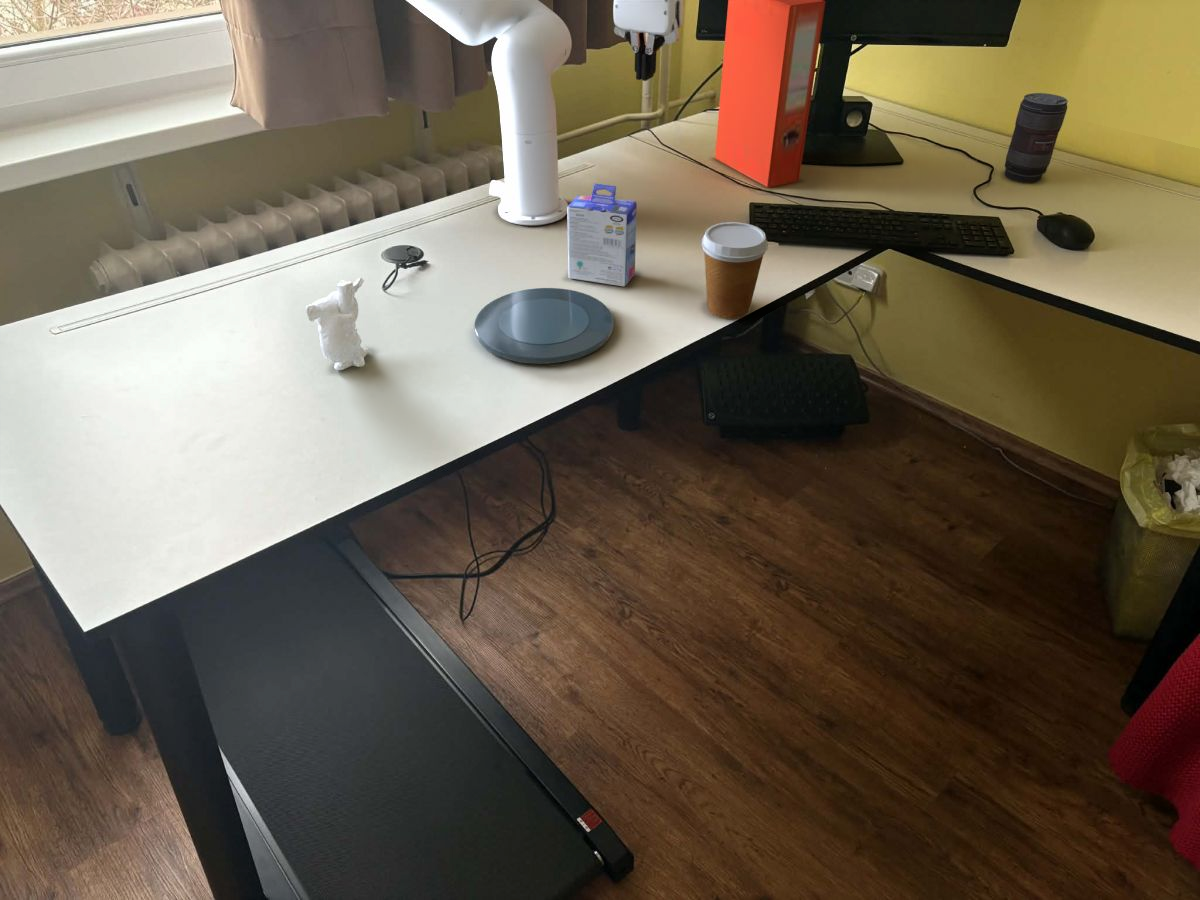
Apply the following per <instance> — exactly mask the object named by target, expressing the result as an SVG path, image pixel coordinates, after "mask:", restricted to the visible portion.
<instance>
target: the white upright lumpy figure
mask: <svg viewBox="0 0 1200 900" xmlns="http://www.w3.org/2000/svg"><path fill="white" fill-rule="evenodd" d="M364 281H365V279H363V278H362V277H359V278H358V279H356V281H355V282H352V281H350V280H339V282H338V283H337V291H335V290H333V291H332V292H330V293H329V295H328V296H327V297H324V298H321V299H318V300H316V301H314V302H313V303H312V304H311V303H309V304H306V307H305V313H306V316H307V317H306V318H307V319H308V320H309V321H310V322H311V323H313V322H315V323H317V324H318V326H317V330H318V336H319V345H320V349H321V352H322V354H323V357H324V358H326V360H327V361H329V362H330V363H333V364H334V369H335V371H342V370H345V369H348V368H349V367H351V366H353V367H358V368H362V367H364V366H365V364H366V361H365V357H366V356H367V355H368V354H370V349H369V348H367V347H362V338H361V335H360V334H359V333H358V328H357V327H356V326H357V324H356V321H357V320H358V317H359V303H358V301H357V299H356V298H357V297H355V294H356V293H357V292H358V290H359V289H360V288H362V286H363V284H364Z"/></svg>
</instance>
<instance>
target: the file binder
mask: <svg viewBox="0 0 1200 900" xmlns="http://www.w3.org/2000/svg"><path fill="white" fill-rule="evenodd" d="M825 7H826V1H825V0H728V3H727V13H726V25H725V36H724V46H723V47H724V49H723V59H722V70H721V71H722V72H721V82H720V92H719V94H720V95H719V103H718V117H717V128H716V140H715V141H716V142H715V151H714V152H715V153H714V159H715V160H717V161H719V162H720V163H723V164H724V165H726V166H728V167H730V168H732V169H733V170H735V171H737V172H739V173H741V174H743V175H745V176H746V177H748V178H750V179H752V180H754V181H755V182H757V183H759V184H760V185H762V186H764V187H766V188H770V189H771V188H775V187H778V186H782V185H787V184H791V183H796V182H799V180H800V176H801V168H802V163H803V156H804V150H805V143H806V135H807V130H808V121H809V116H810V108H811V101H812V94H813V89H814V81H815V74H816V67H817V61H818V54H819V47H820V40H821V34H822V27H823V20H824V13H825Z"/></svg>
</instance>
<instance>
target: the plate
mask: <svg viewBox="0 0 1200 900" xmlns="http://www.w3.org/2000/svg"><path fill="white" fill-rule="evenodd" d="M613 329H614V318H613V314H612V312H611V310H610V309H609V308H608V307H607V305H606V304H604V303H603V301H601V300H599V299H598V298H596V297H594V296H591V295H589V294H586V293H584V292H580V291H577V290H573V289H567V288H560V287H558V288H557V287H538V288H536V287H535V288H528V289H523V290H517V291H514V292H510V293H508V294H505V295H501V296H499V297H498V298H496V299H494V300H492V301H490V302H489V303H487V304H486V305H484V307H483V308H481V310H480V311H479V312H478V314H477V315H476V318H475V321H474V333H475V336H476V339H477V340H478V342H479V344H480V345H481V346H482V347H483V348H484V349H486V350H487V351H488V352H490V353H492V354H493V355H496V356H497V357H500V358H503V359H506V360H508V361H512V362H518V363H523V364H524V363H525V364H537V365H538V364H542V365H543V364H544V365H545V364H556V363H563V362H569V361H573V360H576V359H579V358H583V357H584V356H587V355H590V354H591V353H594V352H595V351H597V350H598V349H599V348H601V347H603V345H605V344H606V343H607V341H608V340H609V339H610V337H611V335H612V333H613Z"/></svg>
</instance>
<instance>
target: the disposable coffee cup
mask: <svg viewBox="0 0 1200 900" xmlns="http://www.w3.org/2000/svg"><path fill="white" fill-rule="evenodd" d="M700 242H701V247H702V250H703V251H704V252H703V253H704V267H705V269H704V270H705V287H706V301H707V302H706V303H707V306H706V307H707V310H708V312H709V313H710V314H711V315H713V316H715V317H717V318H721V319H725V320H733V319H736V320H737V319H741V318H743V317H745V316H747V315H748V314H749V313H750V309H751V305H752V301H753V298H754V294H755V289H756V287H757V286H756V285H757V281H758V278H759V274H760V270H761V266H762V262H763V258H764V255H765V254H766V251H767V250H768V248H769V242H768V240H767V236H766V233H765V232H764V230H763V229H761V228H760V227H758V226H756V225H753V224H750V223H745V222H739V221H727V222H726V221H725V222H720V223H716V224H714V225H712V226H709V227H708V228H707V229H706V230H705V233H704V235H703V237H702V238H701V241H700Z"/></svg>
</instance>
